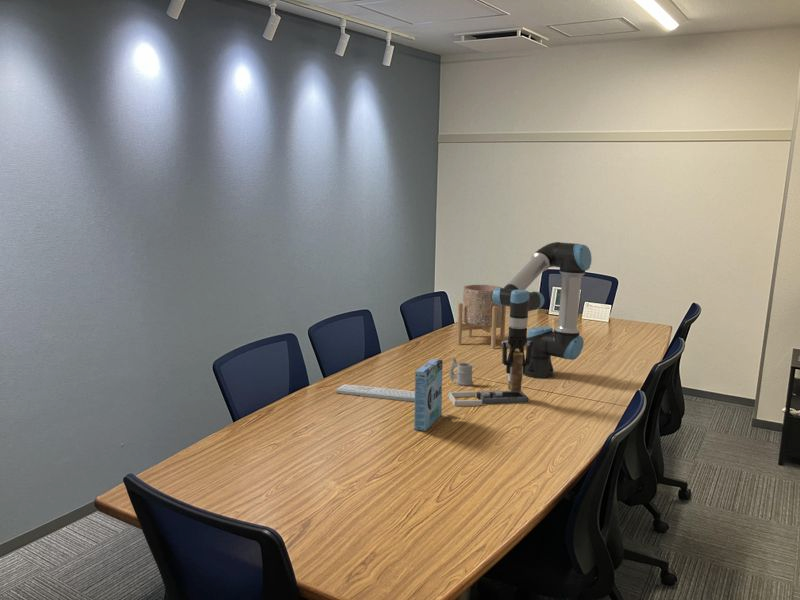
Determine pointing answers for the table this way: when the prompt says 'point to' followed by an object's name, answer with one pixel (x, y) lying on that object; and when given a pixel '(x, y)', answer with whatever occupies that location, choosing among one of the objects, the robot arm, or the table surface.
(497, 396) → the chip
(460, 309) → the planter
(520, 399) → the dark grey open case
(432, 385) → the gum box
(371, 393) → the keyboard
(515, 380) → the tan block
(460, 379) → the mug
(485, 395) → the grey squarish block
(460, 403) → the tray
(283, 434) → the table surface
